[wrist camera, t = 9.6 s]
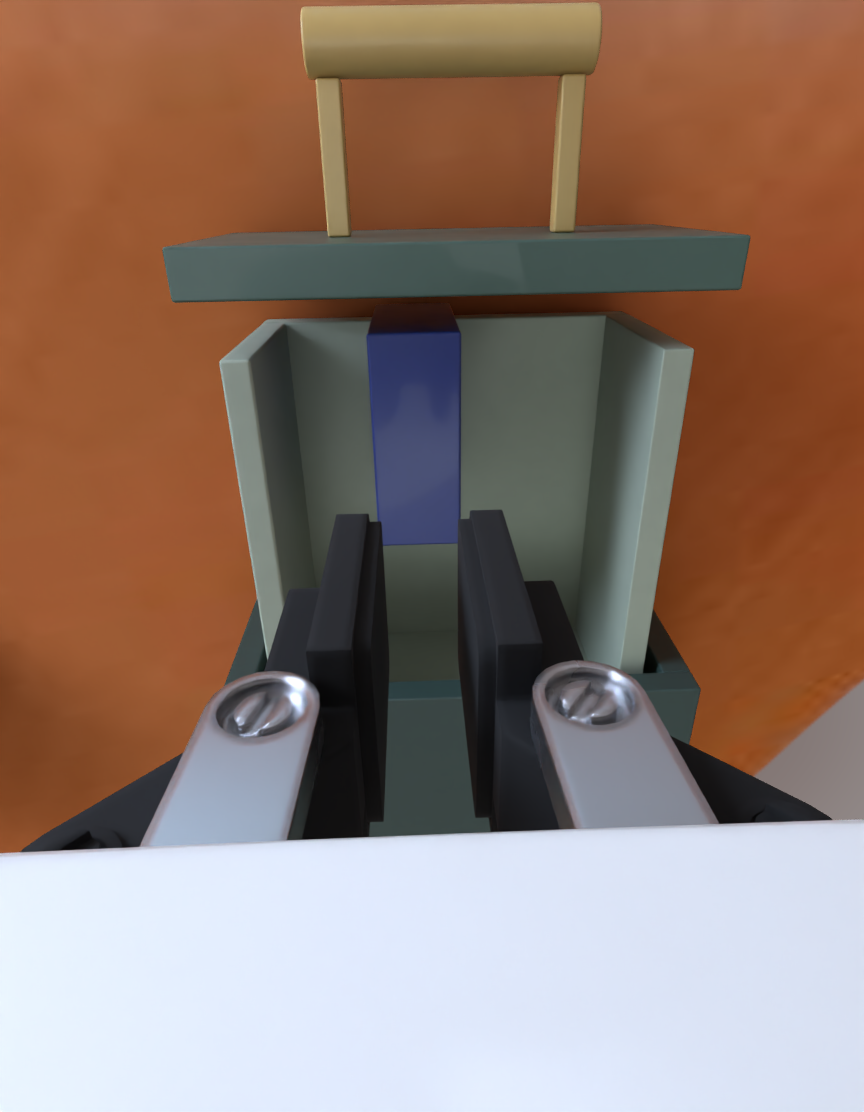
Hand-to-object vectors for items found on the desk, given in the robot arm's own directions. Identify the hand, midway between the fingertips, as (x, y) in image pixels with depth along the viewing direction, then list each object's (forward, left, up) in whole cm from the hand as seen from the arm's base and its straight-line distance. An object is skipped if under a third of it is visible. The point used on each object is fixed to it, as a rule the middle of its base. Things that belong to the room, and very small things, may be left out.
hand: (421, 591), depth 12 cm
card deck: (0, 0, -13) cm, 13 cm away
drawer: (+1, +1, -14) cm, 14 cm away
